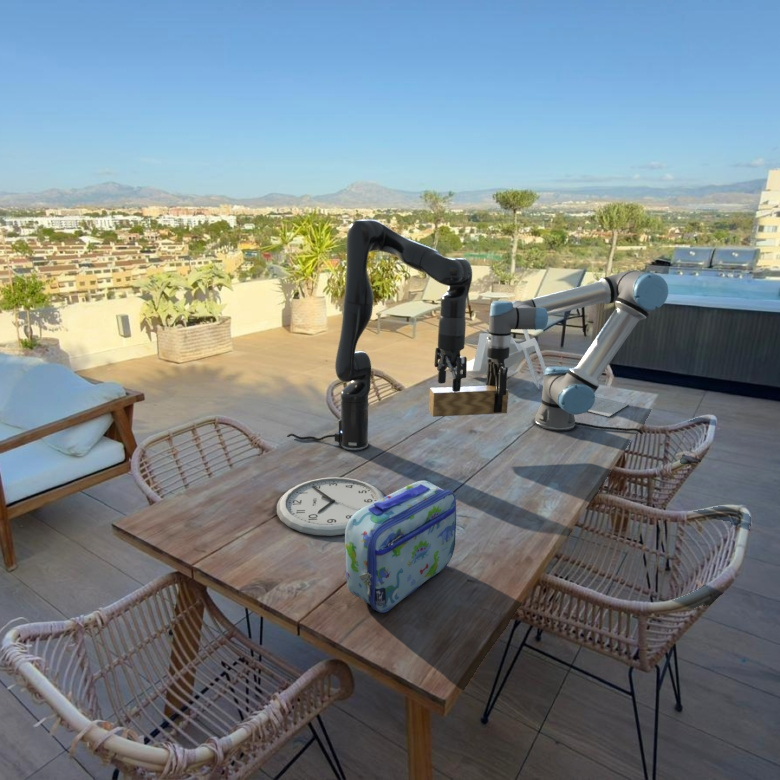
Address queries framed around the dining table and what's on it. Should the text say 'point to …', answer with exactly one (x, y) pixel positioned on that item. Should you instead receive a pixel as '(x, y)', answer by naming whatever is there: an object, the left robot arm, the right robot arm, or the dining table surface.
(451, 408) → the box
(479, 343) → the white plastic object
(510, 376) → the dining table surface
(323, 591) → the dining table surface
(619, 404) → the invitation card
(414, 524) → the lunch box
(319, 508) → the wall clock
